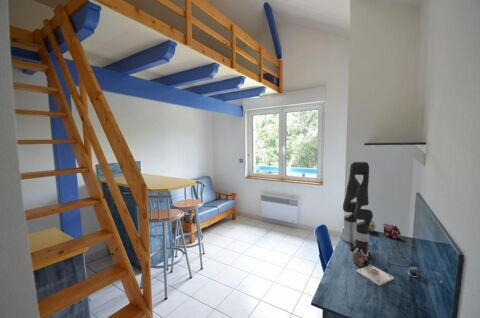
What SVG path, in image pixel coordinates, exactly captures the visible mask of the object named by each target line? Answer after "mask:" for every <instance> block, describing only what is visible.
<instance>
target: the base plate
mask: <svg viewBox="0 0 480 318" xmlns="http://www.w3.org/2000/svg"><path fill="white" fill-rule="evenodd" d="M356 273H358V274H359V275H361V276H362V277H364V278H365V279H368V280H369V281H371V282H372V283H374V284H376V285H377V286H379V287H380V286H382V285H384V284H387V283H388V282H391V281H393V280H395V278H394V276H392V275H391V274H389V273H387V272H385V271H383V270H382V269H380V268H378V267H375V266H374V265H372V264H369V265H367V266H364V267H361V268H358V269H356Z"/></svg>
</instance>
